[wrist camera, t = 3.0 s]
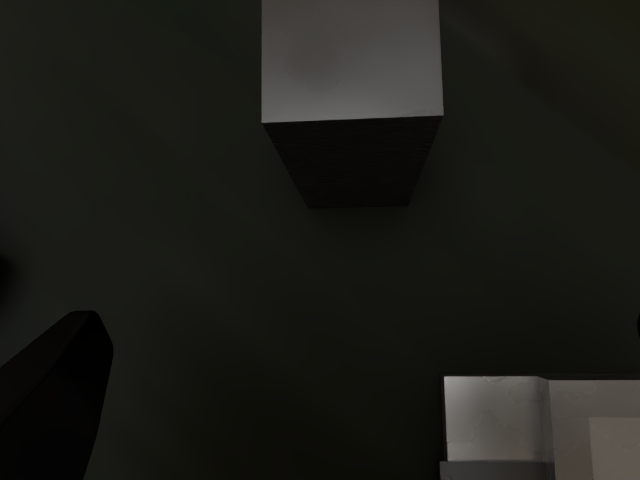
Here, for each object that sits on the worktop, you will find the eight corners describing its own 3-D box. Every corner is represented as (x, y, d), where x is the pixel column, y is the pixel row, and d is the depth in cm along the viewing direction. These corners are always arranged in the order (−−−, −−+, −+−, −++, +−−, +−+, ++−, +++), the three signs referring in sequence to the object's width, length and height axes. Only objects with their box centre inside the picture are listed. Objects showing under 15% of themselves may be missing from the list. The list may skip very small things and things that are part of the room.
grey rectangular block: (407, 205, 22) (443, 115, 12) (308, 208, 22) (261, 122, 12) (404, 117, 22) (436, -40, 12) (307, 121, 23) (262, -29, 13)
